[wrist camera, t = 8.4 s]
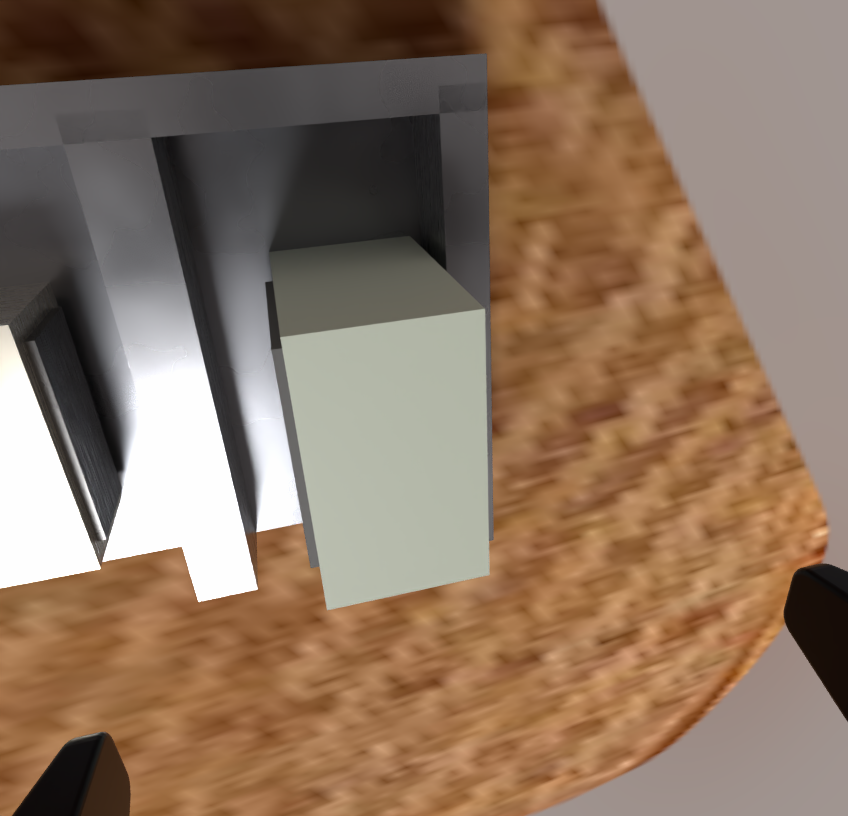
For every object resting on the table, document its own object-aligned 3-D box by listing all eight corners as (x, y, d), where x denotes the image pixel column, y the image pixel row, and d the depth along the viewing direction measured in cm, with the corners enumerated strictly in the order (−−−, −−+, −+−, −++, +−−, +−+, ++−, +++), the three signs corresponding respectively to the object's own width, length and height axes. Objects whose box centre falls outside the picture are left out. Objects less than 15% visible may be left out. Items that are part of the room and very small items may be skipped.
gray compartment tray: (458, 474, 21) (499, 550, 18) (-29, 565, 19) (-91, 677, 15) (440, 58, 16) (495, 52, 12) (-257, 104, 13) (-438, 114, 10)
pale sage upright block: (423, 440, 19) (489, 574, 14) (297, 462, 19) (317, 612, 13) (409, 235, 16) (485, 308, 11) (260, 253, 16) (268, 338, 11)
